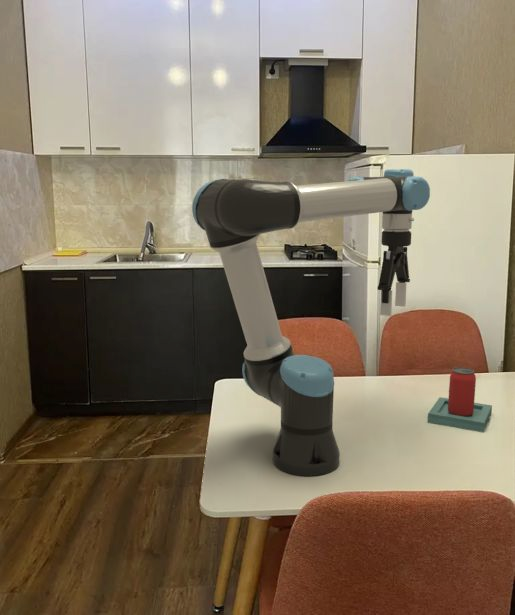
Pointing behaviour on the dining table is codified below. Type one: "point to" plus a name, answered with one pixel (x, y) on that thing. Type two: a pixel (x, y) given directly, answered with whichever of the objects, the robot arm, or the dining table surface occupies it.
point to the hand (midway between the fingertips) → (393, 310)
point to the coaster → (472, 422)
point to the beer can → (462, 391)
